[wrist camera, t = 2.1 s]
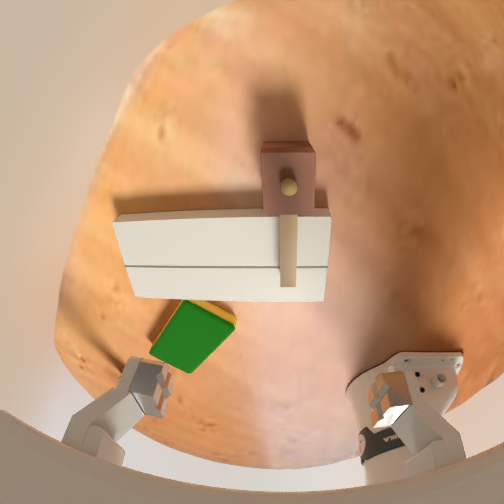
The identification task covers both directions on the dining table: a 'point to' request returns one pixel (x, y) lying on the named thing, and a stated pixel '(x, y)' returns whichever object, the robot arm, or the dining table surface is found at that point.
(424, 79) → the dining table surface
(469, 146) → the dining table surface
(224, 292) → the board
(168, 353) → the dish sponge
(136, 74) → the dining table surface
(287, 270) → the block
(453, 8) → the dining table surface
